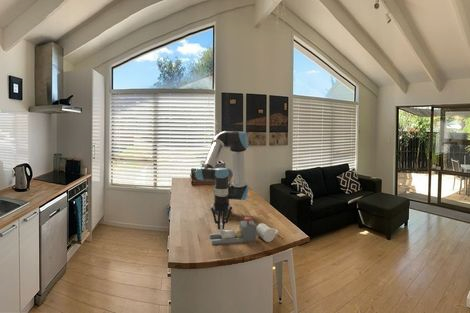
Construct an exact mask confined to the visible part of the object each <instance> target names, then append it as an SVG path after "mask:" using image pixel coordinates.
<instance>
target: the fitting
mask: <svg viewBox="0 0 470 313" xmlns="http://www.w3.org/2000/svg"><path fill="white" fill-rule="evenodd" d="M231 238H235V229H223V235H222V239H231Z"/></svg>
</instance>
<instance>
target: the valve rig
mask: <svg viewBox="0 0 470 313" xmlns="http://www.w3.org/2000/svg"><path fill="white" fill-rule="evenodd" d="M257 226H258V225H257V224H256V223H255V222H254V220H253V217H251V216H245V217H243V220H239V229H238V228H236V229H234V231H235V238H231V239H222V236H220V234H219V233H209V240H210V243H211V245H222V244H236V243H237V244H239V243H240V244H241V243H251V242H253V243H254V242H257V234H256V232H257Z"/></svg>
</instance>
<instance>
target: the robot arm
mask: <svg viewBox="0 0 470 313" xmlns="http://www.w3.org/2000/svg"><path fill="white" fill-rule="evenodd" d="M224 148H229V150H230V151H231V153H232V154H231V155H232V169H231V168H228V167H227V168H226V167H216V165H217V163H218V160H219V157H220V155H221V152H222V151H223V150H224ZM248 148H249V137H248V133H247V132H246V131H237V130H236V131H234V130H233V131H232V130H231V131H229V130H228V131H227V130H224V131H221V132H219V133H218V134H216V135H215V136H214V137H213V139H212V140H211V142H210V148H209V150H208V153H207V155H206V157H205V161H204V162H203V164H202V167H197V168H196V171H195V178H196V180H200V181H210V182H211V181H213V182H214V183H215V184H214V189H213V191H214V192H213V193H214V194H213V195H214V198H213V200H214V201H213V205H212V206H210V207H209V208H210V210H211V213H212V217H213V220H214V223H215V224H217V230H219V234H220V236H222V235H223V230H225V225H226V224H227V223H228V222H229V218H230V215H231V212H232V211H233V206H232V205H231V204H230V200H237V201H246V200H247V198H248V194H249V188H250V186H249V185H248V184H247V181H245V152H246V151H247V149H248ZM231 180H232V181H231ZM230 181H231V183H230ZM216 215H217V217H216Z"/></svg>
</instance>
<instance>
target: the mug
mask: <svg viewBox="0 0 470 313" xmlns="http://www.w3.org/2000/svg"><path fill="white" fill-rule="evenodd" d="M256 226H257V232H256V236H258V237H260V238H261V239H262V240H264V241H265V242H266V243H270V242H272V241H273V240H274V239H275V237H276V235H278V233H279V230H277V229H275V228H271V227H270V226H268V225H267V224H265V223H258V225H256Z"/></svg>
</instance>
